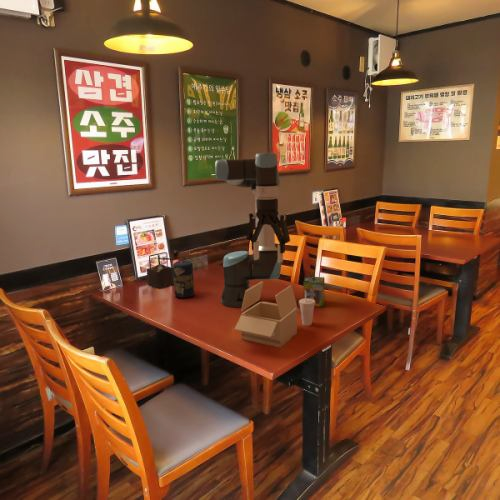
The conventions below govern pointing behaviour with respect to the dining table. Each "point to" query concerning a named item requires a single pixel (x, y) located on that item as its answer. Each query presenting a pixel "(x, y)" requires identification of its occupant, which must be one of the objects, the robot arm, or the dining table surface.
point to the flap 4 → (276, 304)
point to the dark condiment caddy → (161, 273)
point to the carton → (270, 312)
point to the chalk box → (315, 289)
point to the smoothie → (307, 310)
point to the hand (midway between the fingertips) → (268, 260)
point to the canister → (183, 278)
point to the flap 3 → (285, 301)
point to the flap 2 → (256, 326)
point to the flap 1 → (252, 295)
